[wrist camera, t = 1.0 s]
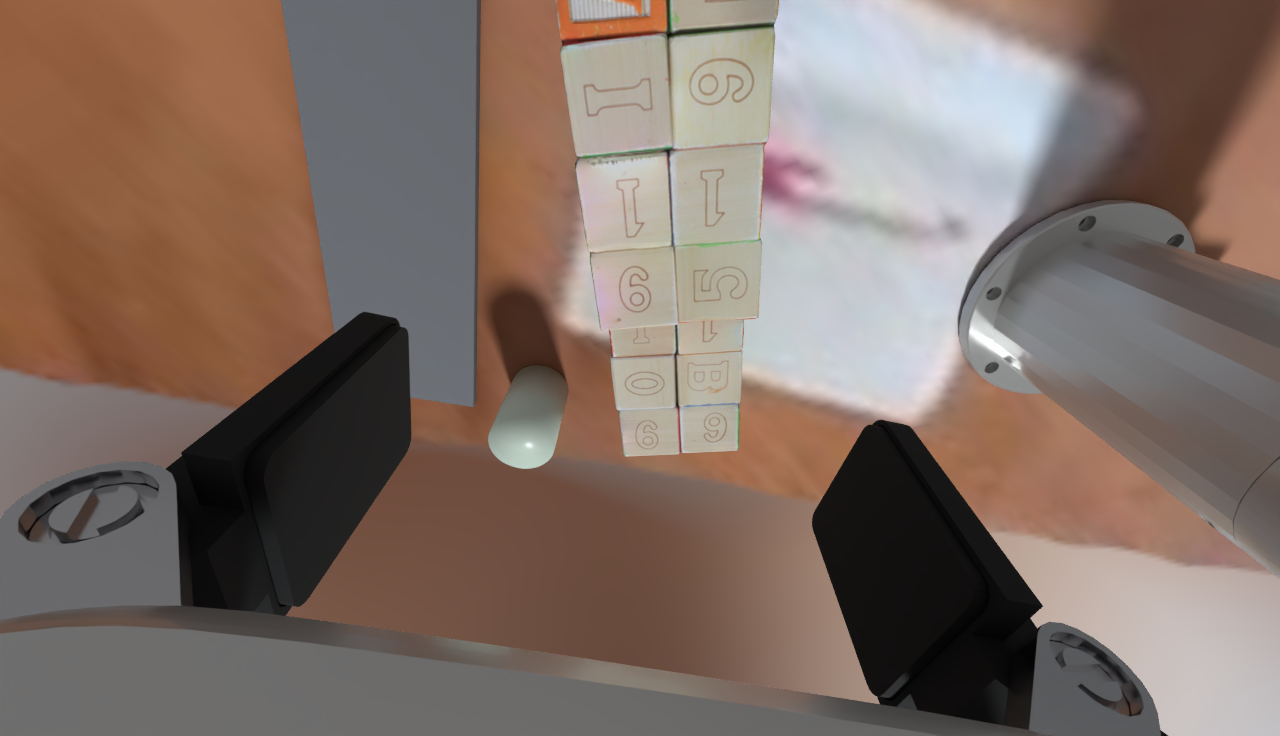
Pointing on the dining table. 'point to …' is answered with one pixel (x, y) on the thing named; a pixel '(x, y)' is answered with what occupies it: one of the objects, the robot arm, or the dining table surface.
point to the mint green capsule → (529, 418)
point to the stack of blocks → (672, 201)
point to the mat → (396, 170)
